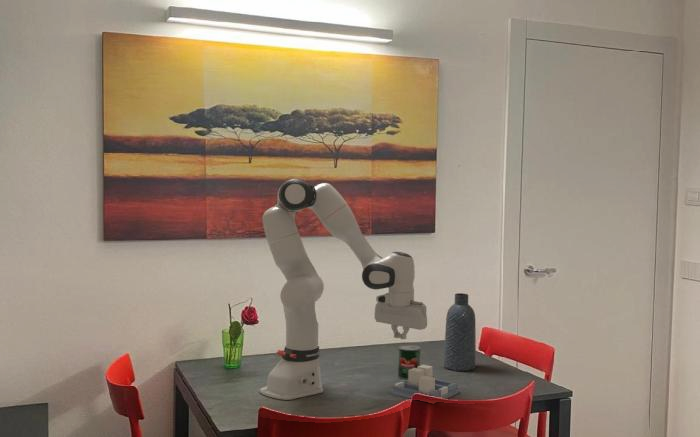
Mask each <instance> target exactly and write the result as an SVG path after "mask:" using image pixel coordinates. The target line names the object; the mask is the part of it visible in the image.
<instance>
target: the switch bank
mask: <svg viewBox="0 0 700 437" xmlns="http://www.w3.org/2000/svg"><path fill="white" fill-rule="evenodd" d="M458 385H459V384H458V383H456V382H451V381H446V380H442V379H437V378H435V391H433V392H430V394H427V393H423V392H419V386H418V385H414V384H410V383H408V380H405V379H404V380H403V381H399V382H398V383H397V382H396V383H394V385H393V386H392V389H390V394H391V395H394V396H399V397H403V398H406V399H410V398H411V396H412V395H413V394H414V393H421V394H425V395H429V396H435V397H442V398H446V399H449V398H451V397H453V396H455V395H458V394H460V393H461V388H458V387H459V386H458Z"/></svg>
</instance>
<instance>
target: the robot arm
mask: <svg viewBox="0 0 700 437" xmlns="http://www.w3.org/2000/svg"><path fill="white" fill-rule="evenodd" d="M304 209H309V210H311V212H313V213H314V214H315V215H316V217H317V218H318V220H319V221H320V223H321V225H322V226H323V227H324V229H326V231H328V232H329V233H330V234H331V236H332V237H334V238H336V239H338V240H341V241H342V242H344V243H345V244H347V246H348V247H349V248H350V249H351V251H352V252H353V254H354V255H355V257H356V258H357V259H358V260H359V262H360V265H361V266H362V273H361V279H362V283H363V284H364V285H365V287H366V288H369V289H372V290H375V291H377V290H382V289H387V288H388V292H387V293H384V294H379V295H377V296H376V298H375V300H376V303H375V305H374V306H375V307H374V320H375V321H376V322H377V323H381V324H387V325H391V327H390V328H391V329H392V332H393V338H395V339H400V340H407V334H408V333H409V331H410V329H414V330H419V331H422V330H425V329H426V328H427V327H428V317H427V306H426V304H424V302H422V301H415V287H414V281H415V277H416V276H415V274H416V273H415V260H414V258H413V257H412V255H410V254H408V253H405V252H401V251H392V252H391V253H390V254H388V255H387V256H385V257H382V256H380V255H379V254H378V253H376V252H375V250H374V249H373V247H372V246H371V244H370V243H369V241H368V240H367V239H366V238H365V235H363V233H362V231H361V228H360V226H359V224H358V221H357V219H356V217H355V215H354V212H353V211H352V209H351V208H350V206H349V204H348V203H347V201H346V200H345V199H344V197H343V196H342V195H341V193H339V191H338V190H337V189H336V188H335V187H334V186H333V185H332V184H330V183H328V182H323V183H318V184H316V185H315V186H313V185H312V184H310V183H307V182H306V181H304V180H301V179H297V178H290V179H287V180H286V181H285V182H283V183H281V185H280V187H279V189H278V191H277V196H276V204H275V205H274V206H272V207H270V208H268V209H266V210H265V211H264V213H263V215H262V217H261V218H262V220H261V221H262V226H263V230H264V235H265V238H266V241H267V244H268V246H269V249H270V250H269V251H270V252H271V255H272V257H273V260H274V264H275V265H276V267H277V268H278V269H279V270H280V272H282V275H283V276H284V278H285V280H286V282H285V284H284V285H283V286H282V289H281V291H280V301H281V303H282V306H283V313H284V318H285V339H286V340H285V346H284V349H283V350H282V349H278V350H277V351H276V355H277V356H279V357H281V360H279V362H277V364H276V365H275V367H273V369H272V370H271V371H270V372H269V374H268V375H267V380H266V386H263V387H261V388H259V393H260V394H261V395H263V396H266V397H268V398H269V397H270V398H273V399H275V400H276V399H277V400H284V401H285V400H286V401H288V400H289V401H290V400H295V399H299V398H303V397H308V396H312V395H317V394H321V393H324V388H323V385H322V384H323V383H322V376H321V375H322V374H321V367H320V363H319V358H320V353H321V352H320V346H319V322H318V319H317V314H316V313H317V312H316V302H317V301H319V300H320V298H321V297H322V296H323V293H324V288H325V287H324V286H325V285H324V281H323V279H322V278H321V276H319V274H318V272H317V271H316V269H315V266H314V265H313V263H312V261H311V259H310V257H309V256H308V253H307V251H306V248H305V247H304V243H303V240H302V238H301V235H300V233H299V230H298V227H297V224H296V221H295V218H296V217H295V216H296V214H298V213H299V212H301V211H302V210H304ZM398 327H402V330H403V331H402V332H400V331H399V330H398Z"/></svg>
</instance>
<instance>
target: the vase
mask: <svg viewBox="0 0 700 437" xmlns="http://www.w3.org/2000/svg"><path fill="white" fill-rule="evenodd" d="M444 332H445V333H444V349H443V350H444V351H443V368H446V369H447V370H450V371H455V372H456V371H457V372H469V371H473V370H474V369H475V368H476V365H477V364H476V361H477V359H476V349H477V348H476V346H477V345H476V343H477V340H476V314H475V311H474V308H473V307H472V306H471V305H470V304H469V294H468V293H460V292H459V293H455V294H454V303H453V304H452V305H451V306H450V307H449V308H448V310H447V313H446V319H445V330H444Z"/></svg>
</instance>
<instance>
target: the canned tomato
mask: <svg viewBox="0 0 700 437" xmlns="http://www.w3.org/2000/svg"><path fill="white" fill-rule="evenodd" d="M420 362H421V347H420V346H419V345H417V344H416V345H415V344H401V345H399V346H398V364H397V365H398V366H397V378H398V379H401V380H404V381H405V380H408V370H409V369H412V368H417V367H418V366H421V363H420Z"/></svg>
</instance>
